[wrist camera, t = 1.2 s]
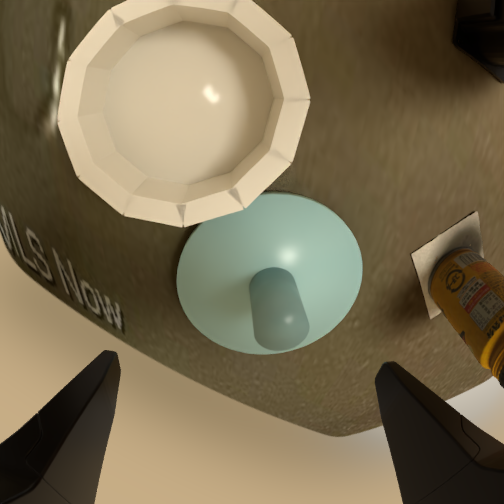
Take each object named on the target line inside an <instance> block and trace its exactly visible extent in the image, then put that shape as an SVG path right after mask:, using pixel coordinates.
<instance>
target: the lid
mask: <svg viewBox="0 0 504 504" xmlns="http://www.w3.org/2000/svg"><path fill="white" fill-rule="evenodd" d="M243 208H244V207H243ZM361 280H362V258H361V253H360V249H359V246H358V244H357V241H356V239H355V237H354V236H353V234H352V232H351V231H350V229H349V228H348V227H347V225H346V224H345V223H344V222H343V220H342V219H341V218H340V217H339V216H338V215H337V214H336V213H334V212H333V211H332V210H331V209H329V208H328V207H327V206H325V205H324V204H322V203H320V202H318V201H316V200H314V199H312V198H309V197H306V196H303V195H300V194H294V193H289V192H275V191H272V192H262V193H261V194H260V195H259V196H258V197H257V198H256V199H255V200H254V201H253V202H252V203H251V204H250V205H249V206H248V207H247V208H244V210H241V211H237V212H234V213H230V214H227V215H224V216H220V217H217V218H213V219H210V220H207V221H203V222H200V223H199V225H198V226H197V227H196V228H195V229H194V231H193V232H192V233H191V235H190V237H189V238H188V240H187V242H186V244H185V246H184V248H183V251H182V253H181V257H180V261H179V265H178V269H177V292H178V296H179V300H180V303H181V305H182V308H183V310H184V312H185V314H186V315H187V317H188V319H189V320H190V321H191V323H192V324H193V325H194V326H195V327H196V328H197V329H198V330H199V331H200V332H201V333H202V334H203V335H205V336H206V337H207V338H209V339H210V340H212V341H214V342H215V343H217V344H219V345H221V346H224V347H226V348H228V349H232V350H235V351H238V352H244V353H249V354H276V353H283V352H287V351H292V350H295V349H298V348H301V347H303V346H306V345H308V344H310V343H312V342H314V341H316V340H318V339H320V338H321V337H323V336H324V335H325V334H327V333H328V332H330V331H331V330H332V329H333V328H334V327H335V326H337V325H338V323H339V322H340V321H341V320H342V319H343V318H344V317H345V315H346V314H347V313H348V311H349V310H350V308H351V307H352V305H353V303H354V301H355V299H356V297H357V294H358V292H359V288H360V285H361Z"/></svg>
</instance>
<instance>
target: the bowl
mask: <svg viewBox="0 0 504 504" xmlns="http://www.w3.org/2000/svg"><path fill="white" fill-rule="evenodd" d="M111 10H112V11H111ZM111 10H108V11H107V12H106V13H105V14H104V15H103V17H102V18H101V19H100V20H99V21H98V22H97V23H96V25H95V26H94V27H93V28H92V29H91V31H90V32H89V33H88V34H87V36H86V37H85V38H84V39H83V41H82V42H81V43H80V44H79V46H78V47H77V48H76V50H75V51H74V52H73V54H72V55H71V56H70V58H69V60H70V61H67V66H66V71H65V75H64V81H63V86H62V92H61V98H60V104H59V111H58V118H57V120H58V121H59V122H57V123H58V126H59V129H60V132H61V135H62V138H63V141H64V143H65V146H66V149H67V152H68V154H69V157H70V160H71V162H72V165H73V167H74V170H75V173H76V175H77V176H79V179H80V180H81V181H82V182H83V183H84V184H86V185H87V186H88V187H89V188H90V189H91V190H93V191H94V192H95V193H96V194H97V195H99V196H100V197H101V198H102V199H103V200H105V201H106V202H107V203H108V204H109V205H111V206H112V207H113V208H114V209H115V210H117V211H118V212H119V213H120V214H122V215H123V214H124V216H127V217H132V218H137V219H142V220H147V221H152V222H157V223H163V224H168V225H173V226H178V227H183V225H184V227H187V226H190V225H194V224H197V223H200V222H203V221H207V220H210V219H213V218H217V217H220V216H224V215H227V214H230V213H234V212H237V211H241V210H244V208H247V207H248V206H249V205H250V204H251V203H252V202H253V201H254V200H255V199H256V198H257V197H258V196H259V195H260V194H261V193H262V192H263V191H264V190H265V189H266V188H267V187H268V186H269V185H270V184H271V183H272V182H273V181H274V180H275V179H276V178H277V177H278V176H279V175H281V174H282V173H283V172H284V171H285V170H286V169H287V168H288V167H289V166H290V165H291V163H290V162H293V159H294V155H295V152H296V149H297V145H298V142H299V139H300V135H301V132H302V128H303V125H304V122H305V118H306V115H307V111H308V108H309V104H310V101H309V100H307V99H310V95H309V91H308V87H307V83H306V80H305V76H304V72H303V69H302V65H301V62H300V58H299V55H298V52H297V48H296V45H295V42H294V38H290V37H291V36H292V35H291V34H290V33H289V32H288V31H287V30H285V29H284V28H283V27H282V26H281V25H280V24H279V23H278V22H277V21H275V20H274V19H273V18H272V17H271V16H270V15H268V14H267V13H266V12H265V11H264V10H263V9H261V8H260V7H259V6H258V5H257V4H255V3H254V2H253V1H252V0H127V1H125V2H123V3H121V4H118V5H116V6H114V7H112V8H111ZM289 161H290V162H289ZM243 207H244V208H243Z"/></svg>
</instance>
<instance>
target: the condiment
mask: <svg viewBox="0 0 504 504" xmlns="http://www.w3.org/2000/svg"><path fill="white" fill-rule="evenodd" d="M470 244H471V245H470ZM482 246H483V242H482V238H481V232H480V224H479V217H478V212H475V213H473V214H472V215H470V216H468V217H467V218H465V219H463V220H462V221H460V222H459V223H458V224H456V225H454V226H452V227H451V228H450V229H448V230H447V231H445V232H444V233H442V234H440V235H438V237H436V238H435V239H434V240H432V241H431V242H429V243H427V244H426V245H424V246H423V247H422V248H420V249H419V250H417V251H416V252H414V253H412V254H411V255H412V258H413V261H414V264H415V268H416V270H417V273H418V277H419V280H420V284H421V287H422V291H423V295H424V298H425V302H426V306H427V309H428V313H429V316H430V319H432V318H433V317H435V316H436V315H438V314H440V313H441V312H442V313H443V314H444V316H445V317H446V318H447V319H448V321H449V322H450V323H451V325H452V326H453V328H454V329H455V330H456V331H457V332H458V334H459V335H460V337H461V338H462V339H463V340H464V342H465V343H466V344H467V346H468V347H469V348H470V350H471V352H472V353H473V354H474V356H475V357H476V359H477V360H478V362H479V363H480V364H481V365H482V366H483V367H484V368H487V369H491V372H492V375H493V376H494V377H496V378H497V379H498V381H499V382H500V385H501V386H502V387H503V388H504V276H503V275H502V274H501V273H500V272H499V271H497V270H496V269H495V268H494V267H493V266H492V265H491V264H490V263H488V262H487V261H486V260H485V259H484V254H483V247H482ZM437 256H438V257H437ZM436 257H437V259H436ZM435 261H436V263H435V264H434V262H435Z"/></svg>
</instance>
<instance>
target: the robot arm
mask: <svg viewBox="0 0 504 504" xmlns="http://www.w3.org/2000/svg"><path fill="white" fill-rule="evenodd" d="M458 40H459V41H460V44H459V42H458ZM453 44H454V45H455V47H457V48H458V49H459V50H461V51H462V52H464V53H465V54H466V55H468V56H469V57H471V58H472V59H473V60H475V61H476V62H477V63H478V64H480V65H481V66H482V67H484V68H485V69H486V70H487V71H489V72H490V73H491V74H492V75H493V76H495V77H496V78H497V79H498V80H499V81H501V82H502V83H504V0H458V5H457V12H456V22H455V28H454V33H453ZM120 374H121V369H120V364H119V360H118V355H117V353H116V352H114V351H109V350H104V351H103V352H102V353H101V354H100V355H98V356H97V357H96V358H95V359H94V360H93V361H92V362H91V363H90V364H89V365H87V366H86V367H85V368H84V369H83V370H82V371H81V372H80V373H79V374H78V375H77V376H76V377H75V378H73V379H72V380H71V381H70V382H69V383H68V384H67V385H66V386H65V387H64V388H63V389H62V390H61V391H60V392H58V393H57V394H56V395H55V396H54V397H53V398H52V399H51V400H50V401H49V402H48V403H47V404H46V405H45V406H44V407H43V408H42V409H41V410H39V411H38V413H36V414H35V415H34V416H33V417H32V418H31V419H30V420H29V421H28V422H27V423H25V424H24V425H23V426H22V427H21V428H20V429H19V430H18V431H16V432H15V433H14V434H13V435H11V436H10V437H9V438H7V439H6V440H5V441H3V442H2V443H1V444H0V504H94V502H95V497H96V492H97V487H98V482H99V478H100V473H101V468H102V464H103V460H104V455H105V451H106V447H107V442H108V438H109V434H110V431H111V427H112V423H113V418H114V414H115V408H116V401H117V400H116V399H117V394H118V387H119V381H120ZM375 386H376V392H377V397H378V403H379V408H380V414H381V419H382V423H383V426H384V430H385V433H386V437H387V441H388V444H389V448H390V452H391V456H392V460H393V464H394V467H395V471H396V476H397V480H398V484H399V488H400V493H401V497H402V501H403V504H504V444H503V443H501V442H499V441H498V440H496V439H495V438H493V437H492V436H490V435H489V434H487V433H486V432H484V431H483V430H481V429H480V428H478V427H477V426H476V425H474V424H473V423H472V422H470V421H469V420H468V419H466V418H465V417H464V416H463V415H460V413H459V412H457V411H456V410H455V409H454V408H453V407H451V406H450V405H449V404H448V403H446V402H445V401H444V400H443V399H441V398H440V397H439V396H438V395H436V394H435V393H434V392H433V391H431V390H430V389H429V388H428V387H426V386H425V385H424V384H423V383H421V382H420V381H419V380H418V379H416V378H415V377H414V376H413V375H411V374H410V373H409V372H407V371H406V370H405V369H404V368H402V367H401V366H400V365H399V364H397V363H396V362H394V361H391V362H384V363H383V364H382V366H381V368H380V370H379V372H378V373H377V375H376V378H375Z"/></svg>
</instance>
